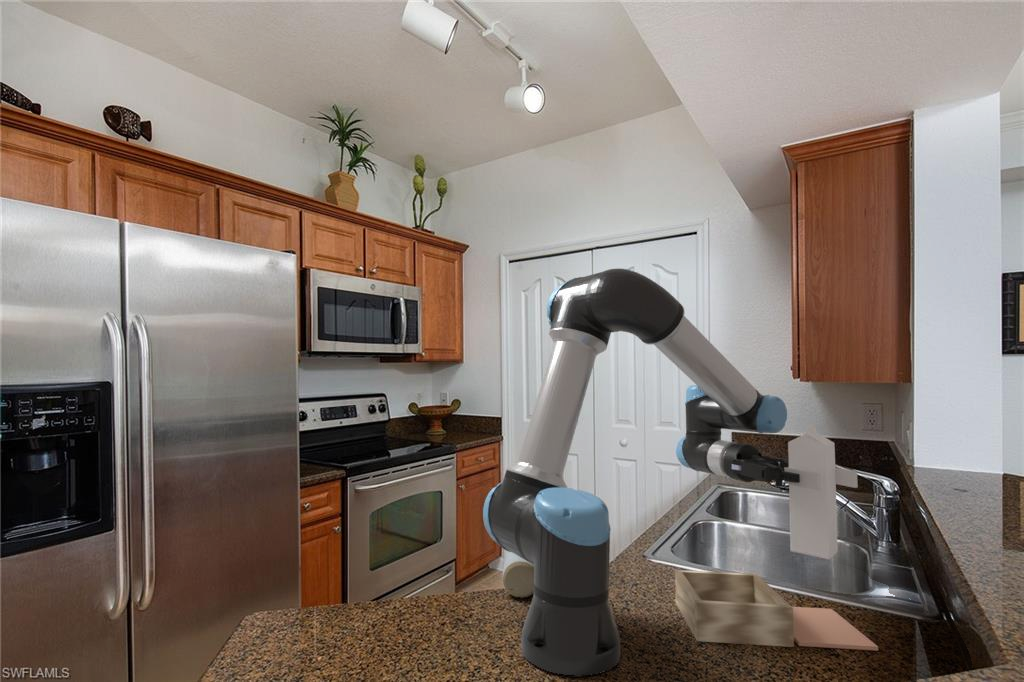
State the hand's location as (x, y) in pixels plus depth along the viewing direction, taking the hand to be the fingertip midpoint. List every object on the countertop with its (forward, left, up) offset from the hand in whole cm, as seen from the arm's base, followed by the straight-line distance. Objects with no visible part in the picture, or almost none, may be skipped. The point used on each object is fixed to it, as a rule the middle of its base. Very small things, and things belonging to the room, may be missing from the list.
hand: (837, 480), depth 87 cm
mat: (-2, +4, -26) cm, 26 cm away
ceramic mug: (-52, +13, -26) cm, 60 cm away
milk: (-2, +4, -13) cm, 14 cm away
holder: (-17, +4, -26) cm, 31 cm away
